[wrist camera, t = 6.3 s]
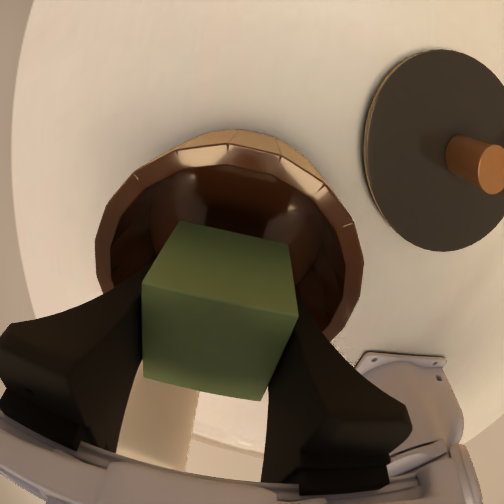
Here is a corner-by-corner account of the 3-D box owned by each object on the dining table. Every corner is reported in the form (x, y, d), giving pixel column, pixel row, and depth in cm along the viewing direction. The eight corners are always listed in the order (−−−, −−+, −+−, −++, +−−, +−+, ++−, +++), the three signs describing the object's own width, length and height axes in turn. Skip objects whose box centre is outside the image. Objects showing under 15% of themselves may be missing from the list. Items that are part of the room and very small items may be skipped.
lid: (528, 109, 12) (570, 120, 8) (476, 260, 18) (507, 293, 14) (387, 15, 11) (424, -5, 7) (331, 216, 17) (350, 253, 13)
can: (141, 372, 24) (103, 489, 14) (119, 318, 21) (55, 451, 11) (211, 377, 24) (191, 508, 13) (198, 321, 21) (161, 480, 10)
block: (288, 243, 12) (299, 315, 8) (261, 325, 14) (260, 402, 10) (179, 219, 12) (141, 281, 8) (170, 305, 14) (142, 377, 10)
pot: (360, 161, 15) (405, 192, 10) (299, 322, 21) (308, 389, 16) (152, 113, 14) (99, 123, 9) (137, 288, 20) (104, 347, 15)
